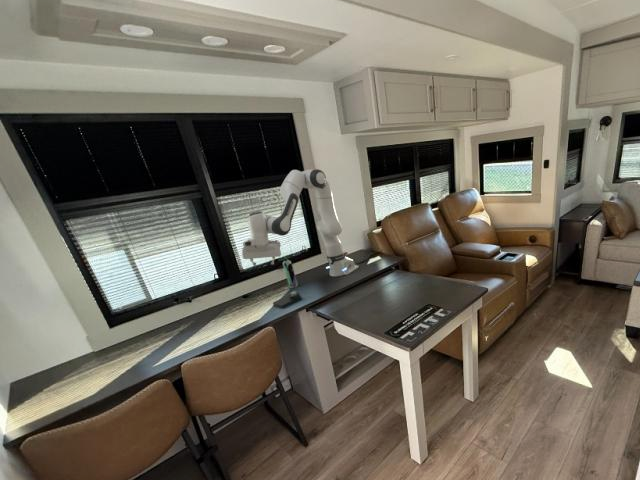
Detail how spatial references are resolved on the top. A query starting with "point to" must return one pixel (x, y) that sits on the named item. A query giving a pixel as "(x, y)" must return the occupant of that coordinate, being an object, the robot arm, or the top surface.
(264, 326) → the top surface
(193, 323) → the top surface
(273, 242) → the robot arm
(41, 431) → the top surface
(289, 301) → the scale
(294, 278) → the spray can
